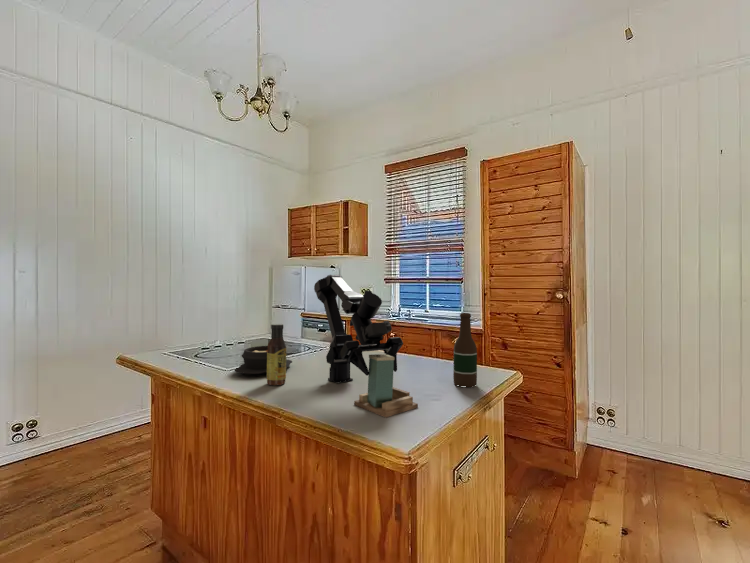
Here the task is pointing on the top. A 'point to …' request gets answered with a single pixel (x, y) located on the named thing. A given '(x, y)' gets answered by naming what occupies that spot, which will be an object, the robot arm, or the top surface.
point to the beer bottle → (465, 355)
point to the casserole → (256, 361)
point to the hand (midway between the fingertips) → (382, 372)
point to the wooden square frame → (389, 403)
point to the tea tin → (380, 379)
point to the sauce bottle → (276, 357)
